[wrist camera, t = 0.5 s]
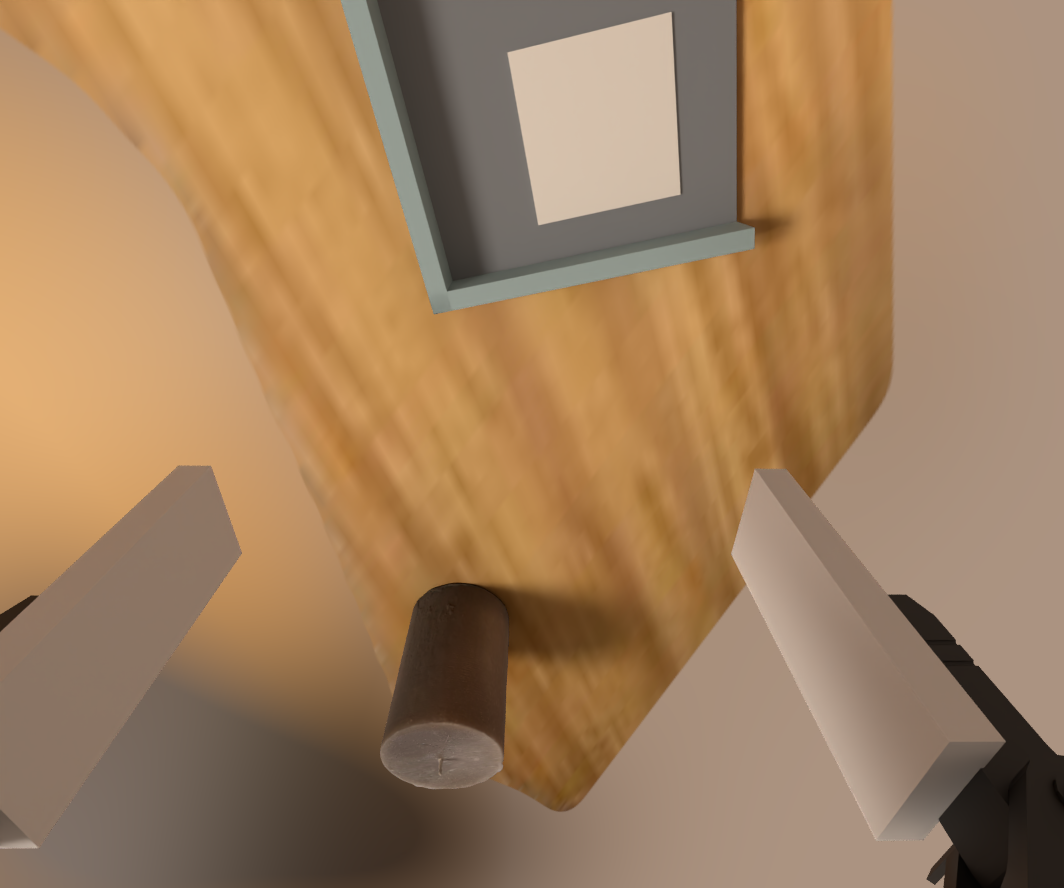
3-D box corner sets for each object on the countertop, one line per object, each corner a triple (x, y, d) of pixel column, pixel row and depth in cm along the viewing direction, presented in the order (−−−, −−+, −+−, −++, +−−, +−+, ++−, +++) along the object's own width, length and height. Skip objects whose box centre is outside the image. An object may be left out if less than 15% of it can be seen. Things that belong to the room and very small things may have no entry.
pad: (507, 53, 29) (507, 52, 28) (670, 12, 28) (671, 12, 28) (538, 224, 33) (538, 225, 33) (679, 194, 32) (680, 194, 32)
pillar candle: (418, 575, 49) (378, 732, 36) (519, 591, 50) (516, 749, 37) (408, 642, 53) (369, 802, 41) (500, 655, 55) (491, 815, 42)
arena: (322, -118, 26) (294, -155, 22) (731, -235, 24) (763, -294, 21) (441, 299, 36) (433, 314, 33) (733, 239, 34) (754, 248, 31)
